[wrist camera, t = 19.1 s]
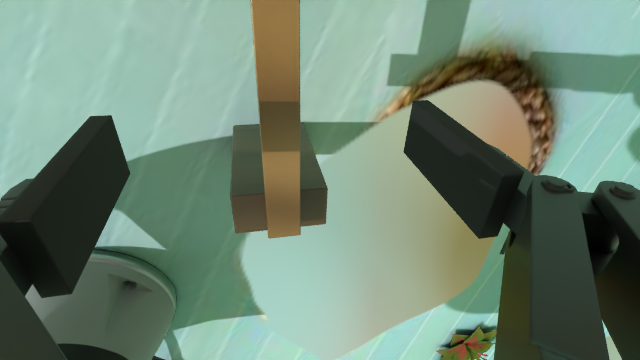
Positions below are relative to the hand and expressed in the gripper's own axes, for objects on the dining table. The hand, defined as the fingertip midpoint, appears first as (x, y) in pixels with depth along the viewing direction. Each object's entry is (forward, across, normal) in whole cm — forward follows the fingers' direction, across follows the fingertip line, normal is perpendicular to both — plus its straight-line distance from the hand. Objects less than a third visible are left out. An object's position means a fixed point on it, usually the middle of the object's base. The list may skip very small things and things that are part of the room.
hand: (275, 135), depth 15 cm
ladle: (+13, -1, -2) cm, 13 cm away
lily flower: (+14, -32, +48) cm, 59 cm away
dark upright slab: (+13, 0, +7) cm, 15 cm away
